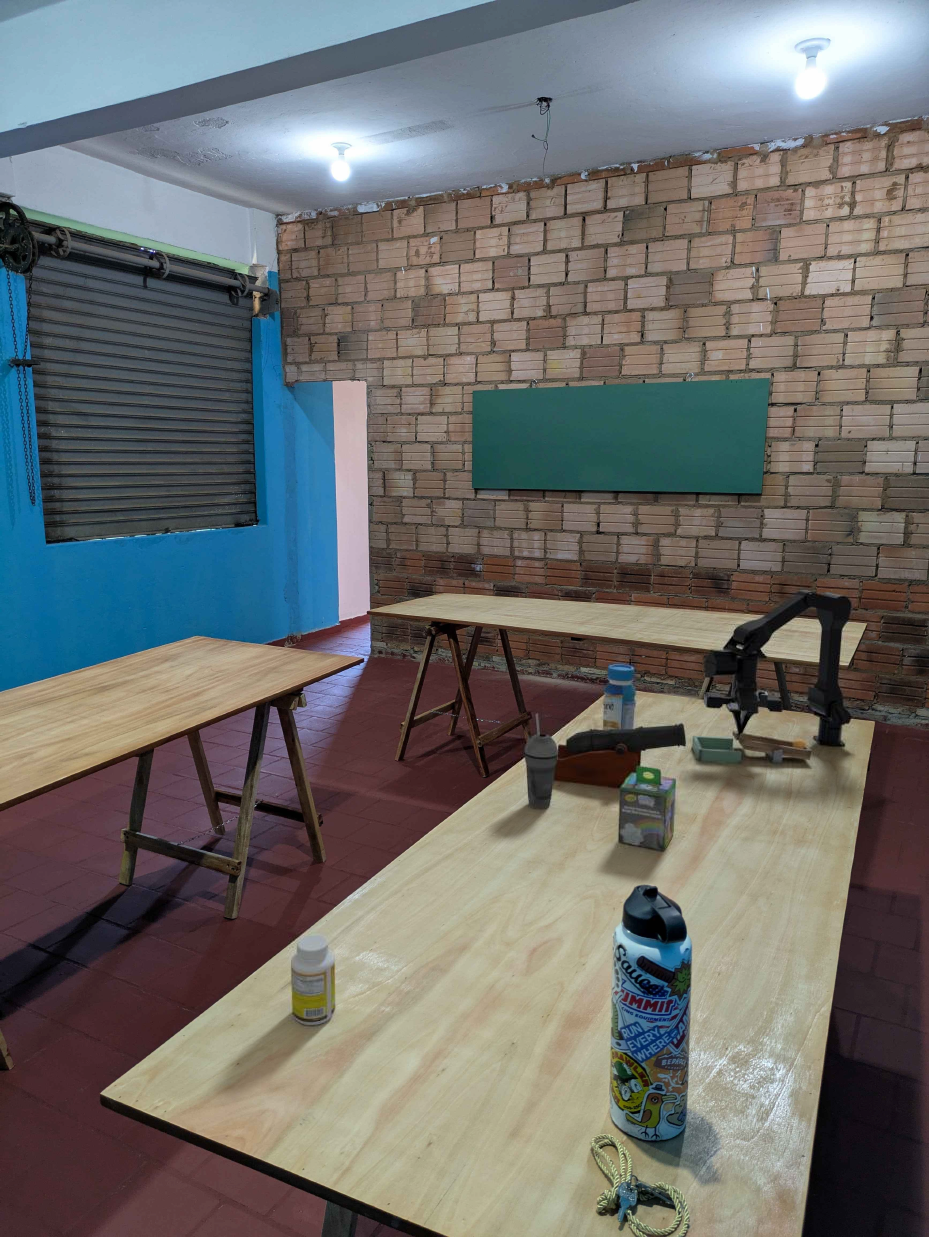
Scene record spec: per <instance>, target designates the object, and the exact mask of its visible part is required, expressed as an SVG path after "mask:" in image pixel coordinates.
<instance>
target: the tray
mask: <svg viewBox="0 0 929 1237" xmlns="http://www.w3.org/2000/svg"><path fill="white" fill-rule="evenodd" d="M691 745H692V746H691V748H692V750H693V752H694V755H695V756H696V760H697V761H698V762H703V763H717V764H720V763H721V764H736V765H737V764H739V765H741V763H742V751H741V750H735V749H734V737H719V736H704V735H703V736H702V735H701V736H700V735H693V736H692V744H691Z"/></svg>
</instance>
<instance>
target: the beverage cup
mask: <svg viewBox="0 0 929 1237" xmlns="http://www.w3.org/2000/svg"><path fill="white" fill-rule="evenodd" d="M535 722H536V733H537V734H534V735H532V736H531V737H530V738H528V740H527V742H526V744H525V746H524V750H523V755H524V761H525V764H526V766H525V767H526V783H527V784H526V786H527V798H528V799H527V801H528V807H530V808H532V809H534V810H536V809H537V810H545V809H548V808H550V807H551V801H552V795H553V787H554V781H553V780H554V772H555V765H556V762H557V758H558V745H557V743H556V741H555V739H554V738H552V737H551V736H550V735H549V734H545V733H540V732H541V731H540V730H541V729H540V720H539V713H535Z"/></svg>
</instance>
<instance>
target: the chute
mask: <svg viewBox="0 0 929 1237" xmlns="http://www.w3.org/2000/svg"><path fill="white" fill-rule="evenodd" d="M732 736H733V739H735V741H738V743H739V744H740V746H741V748H742V749H743V750H744V751H745V750H746V751H751V752H758V753H764V754H766V753H769V754H773V749H780V750H783V752H782V757H786V758H787V757H788V758H794V759H799V760H807V761H810V760H811V756H812V750H811V749H810V747H808V745H807V744H806V746H805V749H800V748H794V747H793V742H794V740H792V741H791V740H786V739H779V738H774V737H766V736H759V735H755V734H754V735H753V734H749V733H746V731H745V732H744V731H743V733H740V735H739V734H738V731H737V730H732Z"/></svg>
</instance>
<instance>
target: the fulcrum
mask: <svg viewBox="0 0 929 1237" xmlns="http://www.w3.org/2000/svg"><path fill="white" fill-rule="evenodd" d="M782 752H783V750H780V749H773V754H769V753H765V754H766V755H767V756H768V758H769V759H770V761H771V763H772V764H773V765H782V762H783V760H782V759H783V756H782Z"/></svg>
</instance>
